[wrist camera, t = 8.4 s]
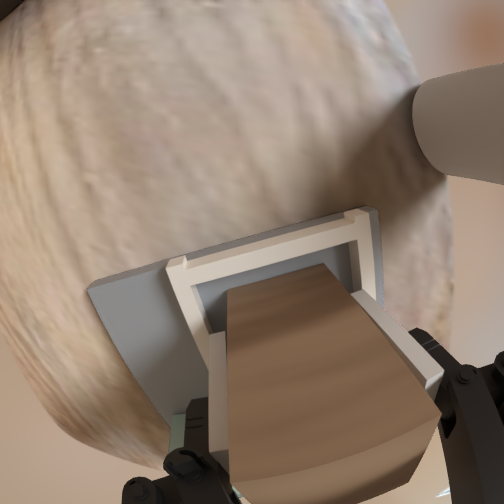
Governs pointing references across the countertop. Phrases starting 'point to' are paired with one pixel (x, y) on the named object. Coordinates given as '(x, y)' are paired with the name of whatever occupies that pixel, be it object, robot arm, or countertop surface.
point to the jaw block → (317, 396)
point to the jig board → (221, 297)
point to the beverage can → (463, 123)
